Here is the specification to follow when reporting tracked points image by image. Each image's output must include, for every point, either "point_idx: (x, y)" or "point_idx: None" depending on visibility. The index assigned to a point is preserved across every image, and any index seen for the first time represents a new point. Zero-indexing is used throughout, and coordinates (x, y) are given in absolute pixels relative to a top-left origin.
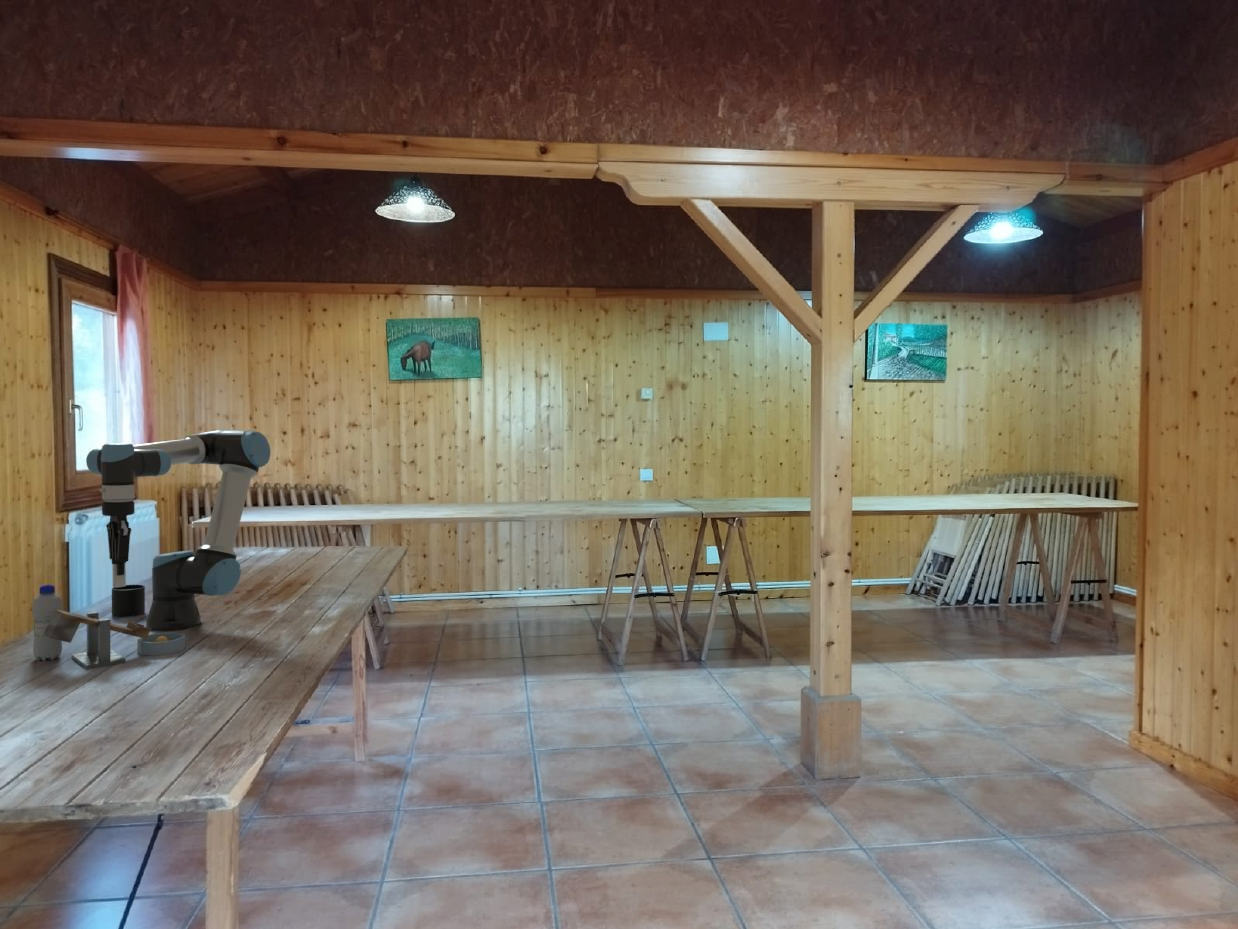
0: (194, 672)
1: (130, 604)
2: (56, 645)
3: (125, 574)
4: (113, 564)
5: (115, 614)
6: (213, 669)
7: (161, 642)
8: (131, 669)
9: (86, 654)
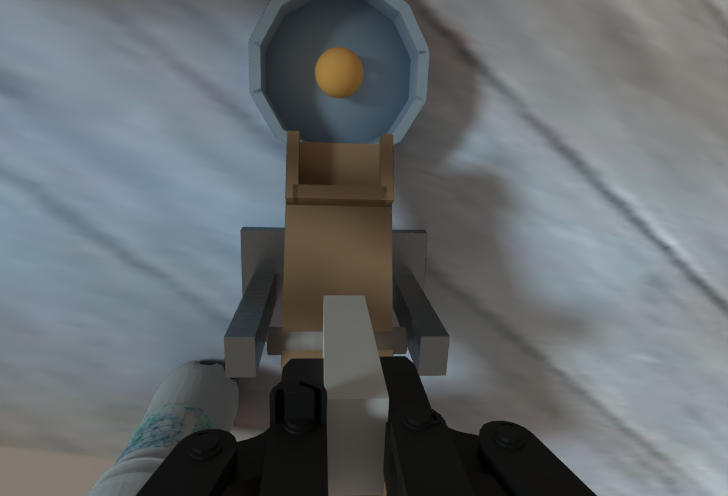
0: (699, 108)
1: None
2: (229, 399)
3: (373, 336)
4: (357, 487)
5: None
6: (719, 46)
7: (422, 104)
8: (515, 240)
9: (279, 308)
